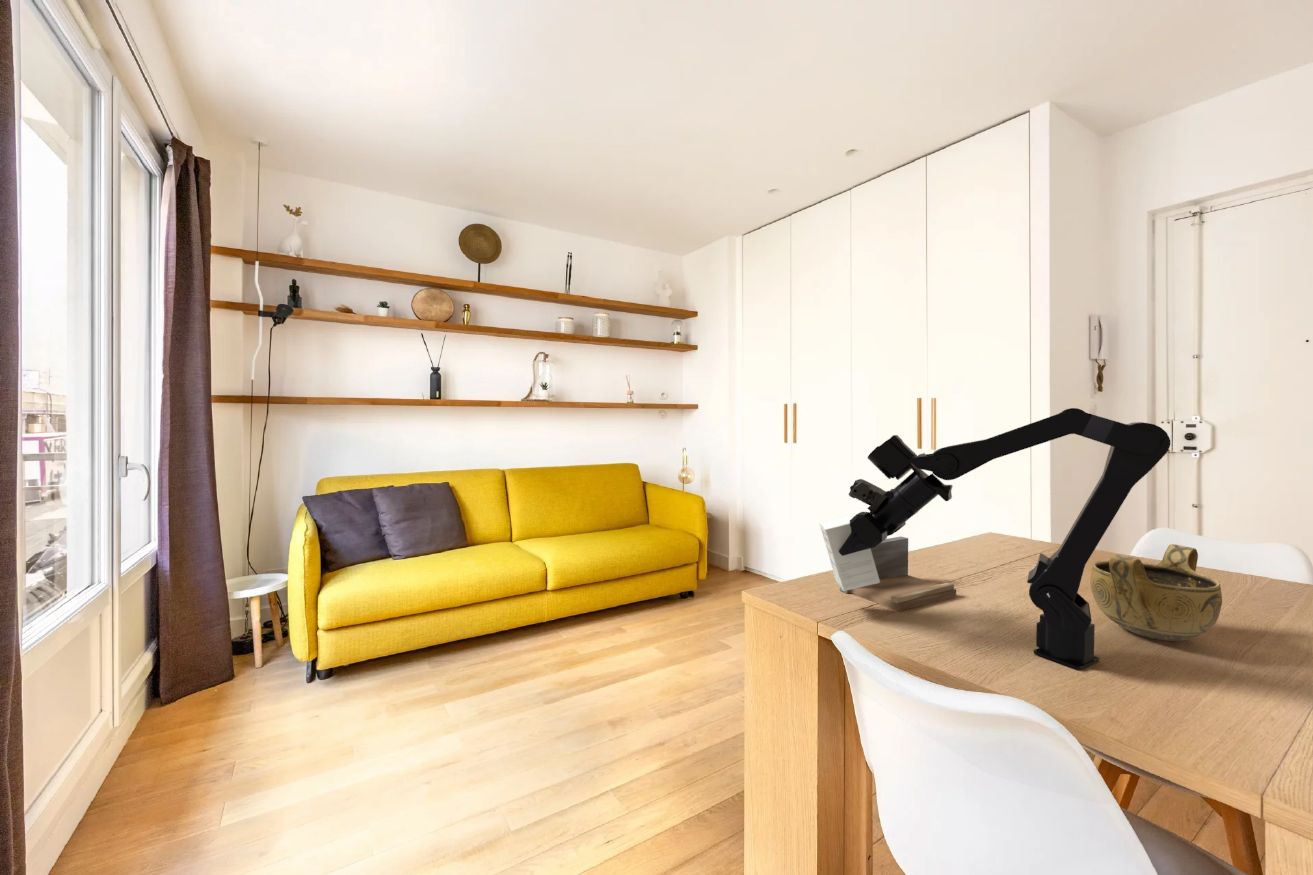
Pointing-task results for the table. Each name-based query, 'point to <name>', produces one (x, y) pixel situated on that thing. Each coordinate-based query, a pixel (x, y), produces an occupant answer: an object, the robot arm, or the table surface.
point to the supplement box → (848, 556)
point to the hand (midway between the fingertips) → (848, 548)
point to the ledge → (900, 580)
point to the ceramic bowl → (1158, 595)
